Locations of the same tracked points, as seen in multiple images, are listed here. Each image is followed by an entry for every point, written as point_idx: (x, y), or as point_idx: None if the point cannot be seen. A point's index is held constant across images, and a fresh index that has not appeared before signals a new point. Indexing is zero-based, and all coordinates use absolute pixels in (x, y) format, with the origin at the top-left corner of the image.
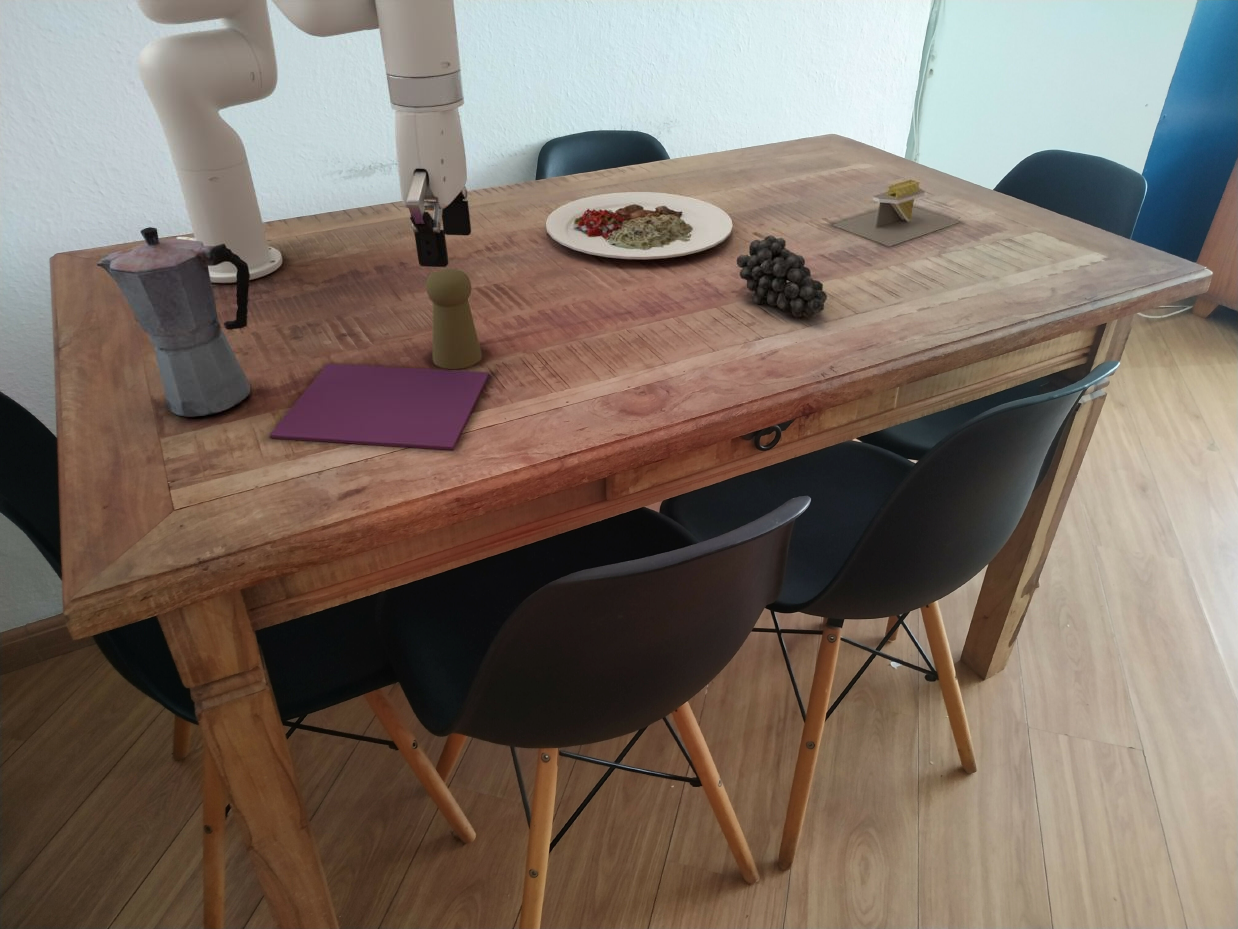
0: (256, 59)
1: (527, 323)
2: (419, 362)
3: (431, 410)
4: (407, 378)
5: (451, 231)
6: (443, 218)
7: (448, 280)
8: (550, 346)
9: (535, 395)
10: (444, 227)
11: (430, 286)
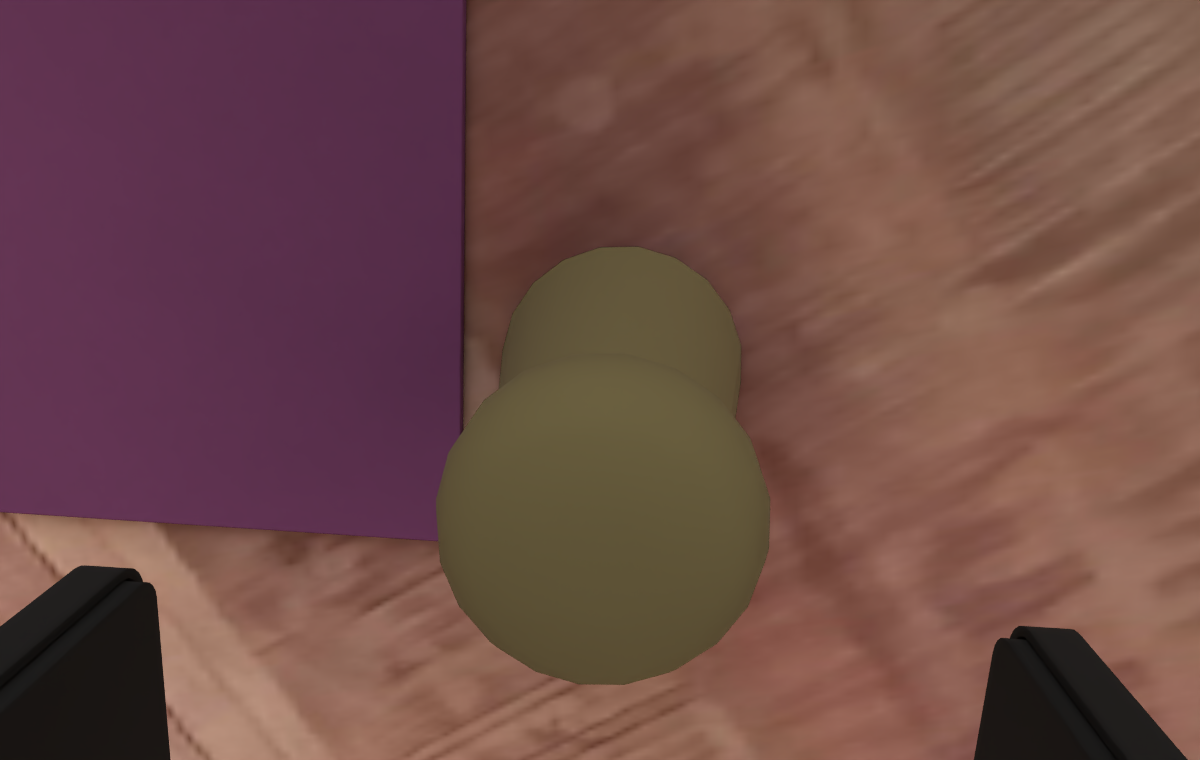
0: None
1: (994, 628)
2: (559, 189)
3: (104, 365)
4: (357, 184)
5: (997, 722)
6: (1077, 755)
7: (486, 589)
8: (750, 745)
9: (326, 727)
10: (1026, 681)
11: (471, 434)
